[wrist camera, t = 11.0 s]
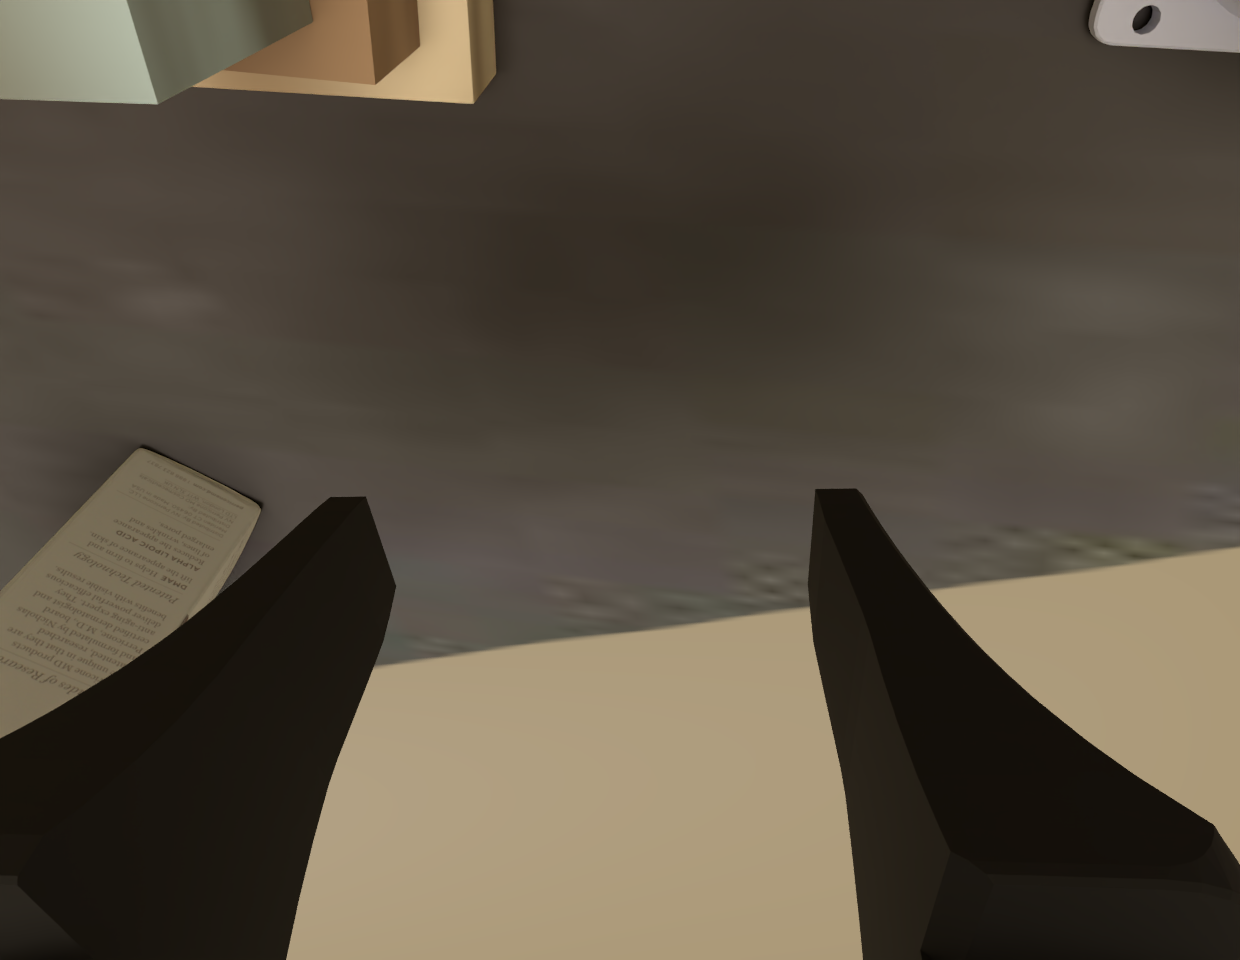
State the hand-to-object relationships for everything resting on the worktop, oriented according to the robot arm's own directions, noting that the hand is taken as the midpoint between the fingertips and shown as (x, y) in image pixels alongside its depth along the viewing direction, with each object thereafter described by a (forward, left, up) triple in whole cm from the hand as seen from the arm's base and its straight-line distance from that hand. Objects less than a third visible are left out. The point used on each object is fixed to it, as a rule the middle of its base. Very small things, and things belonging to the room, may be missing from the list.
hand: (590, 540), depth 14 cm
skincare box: (+15, +10, -11) cm, 21 cm away
